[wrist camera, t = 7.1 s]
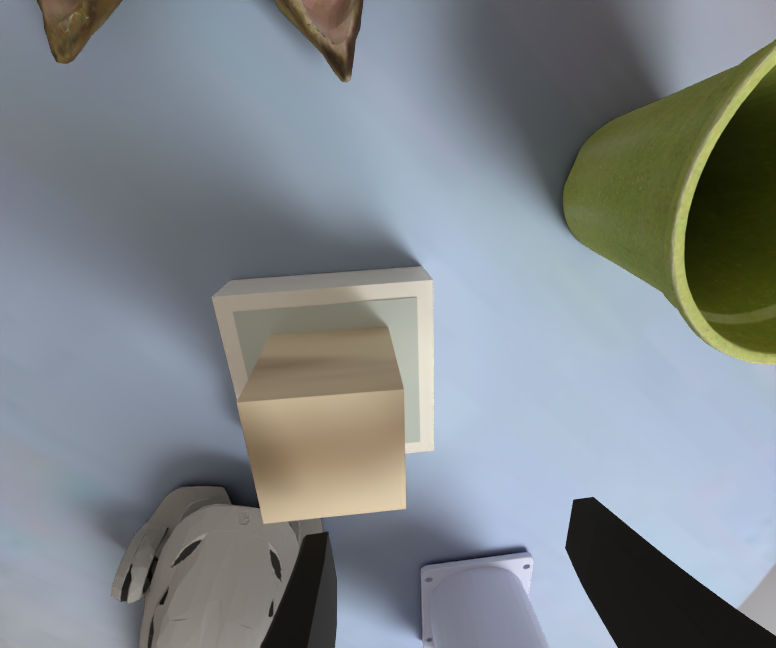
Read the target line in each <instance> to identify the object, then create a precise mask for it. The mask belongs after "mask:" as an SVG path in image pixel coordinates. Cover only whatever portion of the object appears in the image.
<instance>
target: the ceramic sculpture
mask: <svg viewBox="0 0 776 648" xmlns="http://www.w3.org/2000/svg"><path fill="white" fill-rule="evenodd" d="M37 2H38V4H39V6H40V9H41V11H42V13H43V20H44V29H45V32H46V35H47V38H48V41H49V45H50V49H51V53H52V54H53V56H54V58H55V60H56V62H59V63H63V64H68V63H70V62H71V61H73V60H74V59H75V58H76V56H77V55H78V54H79V53H80V52H81V50H82V49H83V47H84V46H85V44H86V43H87V41H88V40H89V38H90V37H91V36H92V35H93V34H94V33H95V32H96V31H97V30H98V29H99V28H100V27H101V26H102V25H103V24H104V22H105V21H106V20H107V19H108V18H109V16H110V15H111V14H112V13H113V11H114V10H115V9H116V8H117V7H118V5H119V4H120V3H121V2H122V0H37ZM275 2H276V4H277V6H278V8H279V10H280V11H281V12H282V13H283V14H284V15H285V16H286V17H287V18H288V19H289V20H290V21H291V22H292V23H293V24H294V25H295V26H296V27H297V28H298V29H299V30H300V31H301V32H302V33H303V34H304V35H305V37H306V38H307V39H308V40H309V41H310V42H311V43H312V44H313V45H314V46H315V47H316V48H317V49H318V50H319V51H320V52H321V53H322V54H323V56H324V57H325V59H326V60H327V62H328V63H329V65H330V67H331V68H332V70H333V71H334V73H335V74H336V75H337V76H338V78H339V79H340V80H341V81H342V82H348V81H350V80H351V74H352V67H353V59H354V51H355V41H356V38H357V35H358V32H359V30H360V25H361V15H362V8H363V0H275Z"/></svg>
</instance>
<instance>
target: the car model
mask: <svg viewBox="0 0 776 648" xmlns="http://www.w3.org/2000/svg"><path fill="white" fill-rule="evenodd" d="M182 516H183V517H182ZM299 530H300V532H299ZM316 533H323V528H322V522H321V518H314V519H305V520H295V521H286V522H276V523H267V524H263V519H262V515H261V510H260V509H258V508H253V507H246V506H238V505H234V504H233V502H232V501H231V499H230V497H229V495H228V493H227V491H226V489H225V487H224V486H183V487H180V488H178V489H176V490H174V491H172V492H171V493H170V494H168V495H167V496H166V497H165V498H164V500H163V501H162V502H161V504H160V505H159V507H158V508H157V509H156V511H155V512H154V514H153V515H152V516H151V518H150V519H149V520H148V521H147V522H146V523H145V524H144V525H143V526H142V527H141V528H140V529H139V530H138V531H137V532H136V534H135V536H134V537H133V539H132V540H131V542H130V544H129V546H128V548H127V550H126V552H125V554H124V556H123V558H122V560H121V563H120V566H119V568H118V571H117V573H116V576H115V579H114V582H113V586H112V593H111V596H113V597H114V598H116V599H117V600H119V601H126V602H127V603H133V602H135V601H137V600H139V599H141V598H143V597H144V615H143V620H142V625H141V630H140V639H139V648H260V646H261V644H262V642H263V640H264V638H265V636H266V634H267V631H268V629H269V627H270V625H271V622H272V620H273V618H274V615H275V613H276V611H277V608H278V606H279V603H280V601H281V599H282V596H283V594H284V592H285V589H286V586H287V584H288V581H289V579H290V576H291V573H292V571H293V568H294V565H295V562H296V559H297V557H298V554H299V551H300V547H301V544H302V541H303V538H304V537H305V536H306V535H309V534H316Z"/></svg>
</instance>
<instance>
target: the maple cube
mask: <svg viewBox="0 0 776 648" xmlns="http://www.w3.org/2000/svg"><path fill="white" fill-rule="evenodd" d="M237 407H238V411H239V416H240V420H241V425H242V429H243V434H244V438H245V443H246V447H247V452H248V456H249V461H250V465H251V470H252V474H253V479H254V483H255V488H256V492H257V497H258V501H259V506H260V510H261V515H262V519H263V524H267V523H276V522H286V521H295V520H305V519H314V518H324V517H333V516H343V515H352V514H362V513H371V512H381V511H391V510H400V509H406V473H405V412H404V387H403V383H402V379H401V375H400V371H399V367H398V363H397V359H396V355H395V351H394V347H393V343H392V339H391V335H390V332H389V328H388V327H378V328H362V329H347V330H332V331H317V332H302V333H286V334H271V335H270V336H269V338H268V340H267V342H266V344H265V346H264V348H263V350H262V352H261V354H260V356H259V358H258V360H257V362H256V364H255V366H254V368H253V370H252V372H251V374H250V376H249V378H248V381H247V383H246V385H245V387H244V389H243V391H242V393H241V395H240V397H239V399H238V401H237Z"/></svg>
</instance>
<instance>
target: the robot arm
mask: <svg viewBox="0 0 776 648" xmlns="http://www.w3.org/2000/svg"><path fill="white" fill-rule="evenodd" d="M565 549H566V551H567V553H568V555H569V558H570V560H571V562H572V565H573V567H574V569H575V571H576V573H577V575H578V578H579V580H580V582H581V584H582V586H583V588H584V590H585V592H586V593H587V595H588V597H589V599H590V601H591V602H592V604H593V606H594V607H595V609H596V611H597V613H598V614H599V616H600V618H601V620H602V621H603V623H604V625H605V626H606V628H607V630H608V632H609V633H610V635H611V637H612V638H613V640H614V642H615V644H616V645H617V647H618V648H776V636H775V635H773V634H772V633H770V632H769V631H768V630H766V629H765V628H763V627H762V626H760V625H759V624H757V623H756V622H754V621H753V620H751V619H749V618H748V617H747V616H745V615H744V614H743V613H741V612H740V611H738V610H737V609H735V608H734V607H733V606H731V605H730V604H728V603H727V602H726V601H724V600H723V599H722V598H720V597H719V596H717V595H716V594H715V593H713V592H712V591H711V590H709V589H708V588H707V587H705V586H704V585H702V584H701V583H700V582H698V581H697V580H696V579H694V578H693V577H692V576H691V575H689V574H688V573H687V572H685V571H684V570H683V569H681V568H680V567H679V566H678V565H676V564H675V563H674V562H672V561H671V560H670V559H669V558H667V557H666V556H665V555H664V554H662V553H661V552H660V551H658V550H657V549H656V548H655V547H654V546H652V545H651V544H650V543H649V542H647V541H646V540H645V539H644V538H642V537H641V536H640V535H639V534H638V533H636V532H635V531H634V530H633V529H631V528H630V527H629V526H628V525H627V524H625V523H624V522H623V521H622V520H621V519H619V518H618V517H617V516H616V515H615V514H613V513H612V512H611V511H610V510H609V509H607V508H606V507H605V506H604V505H602V504H601V503H600V502H599V501H598V500H596V499H595V498H594V497H590V498H582V499H575V500H573V505H572V511H571V517H570V523H569V529H568V535H567V541H566V547H565ZM533 562H534V559H533V557H532V555H531V553H528V552H523V553H516V554H508V555H500V556H493V557H485V558H478V559H470V560H462V561H455V562H447V563H440V564H432V565H426V566H424V567H423V568H422V569H421V604H422V642H423V648H550V647H549V645H548V642H547V640H546V638H545V635H544V633H543V631H542V628H541V626H540V624H539V621H538V619H537V616H536V614H535V612H534V609H533V607H532V605H531V602H530V600H529V598H528V596H529V589H530V582H531V575H532V569H533ZM336 628H337V578H336V572H335V567H334V561H333V556H332V550H331V544H330V539H329V533H328V532H324V533H316V534H309V535H306V536H305V537H304V538H303V541H302V544H301V547H300V551H299V554H298V557H297V559H296V562H295V565H294V568H293V571H292V573H291V576H290V579H289V581H288V584H287V586H286V589H285V592H284V594H283V596H282V599H281V601H280V603H279V606H278V608H277V611H276V613H275V615H274V618H273V620H272V622H271V625H270V627H269V629H268V631H267V634H266V636H265V638H264V640H263V642H262V644H261V646H260V648H335V640H336Z"/></svg>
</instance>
